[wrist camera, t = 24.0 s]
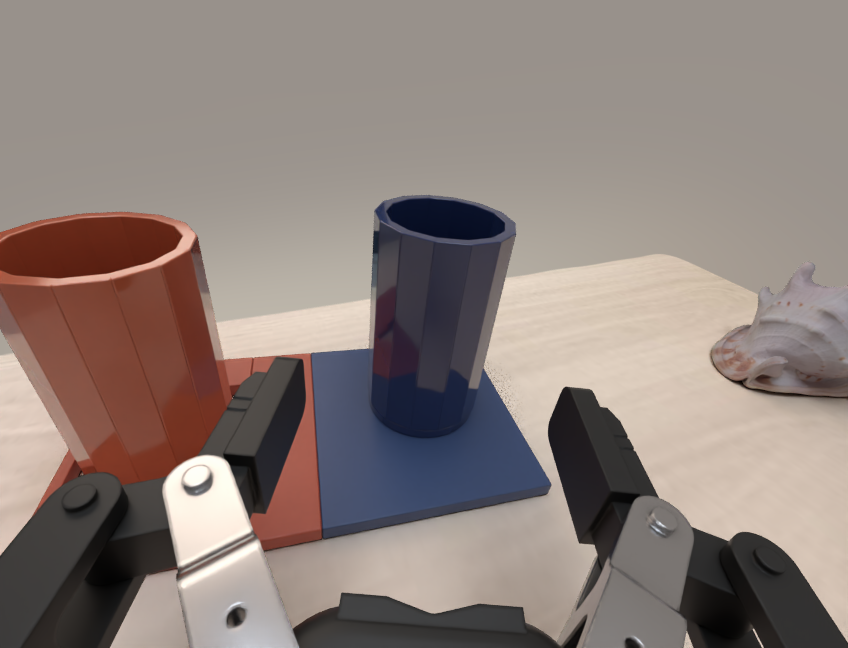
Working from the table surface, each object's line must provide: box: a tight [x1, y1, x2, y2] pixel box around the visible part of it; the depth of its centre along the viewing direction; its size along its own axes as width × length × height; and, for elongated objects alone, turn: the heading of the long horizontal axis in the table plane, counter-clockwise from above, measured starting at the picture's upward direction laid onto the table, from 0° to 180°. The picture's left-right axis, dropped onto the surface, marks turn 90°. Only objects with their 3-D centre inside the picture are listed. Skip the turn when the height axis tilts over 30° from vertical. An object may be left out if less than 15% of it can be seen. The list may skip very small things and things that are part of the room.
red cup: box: [0, 212, 232, 485], centre depth 17 cm, size 6×6×11 cm
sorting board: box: [33, 349, 551, 573], centre depth 22 cm, size 22×12×1 cm, turn 105°
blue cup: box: [367, 195, 516, 438], centre depth 21 cm, size 6×6×11 cm
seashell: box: [711, 261, 848, 397], centre depth 29 cm, size 10×12×9 cm
